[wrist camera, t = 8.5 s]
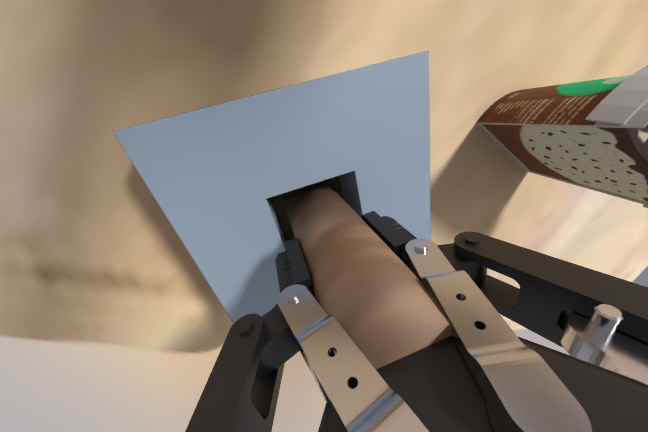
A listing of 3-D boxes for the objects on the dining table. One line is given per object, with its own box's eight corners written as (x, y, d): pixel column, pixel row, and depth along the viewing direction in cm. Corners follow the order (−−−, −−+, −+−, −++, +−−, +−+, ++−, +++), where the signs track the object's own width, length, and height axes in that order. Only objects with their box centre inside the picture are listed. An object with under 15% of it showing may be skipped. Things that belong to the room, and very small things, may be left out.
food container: (578, 122, 23) (774, 135, 15) (533, 177, 25) (687, 218, 16) (518, 36, 18) (770, -26, 9) (466, 113, 19) (640, 121, 11)
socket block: (390, 61, 16) (428, 50, 13) (404, 246, 24) (431, 271, 20) (146, 124, 14) (112, 131, 11) (248, 306, 22) (247, 345, 18)
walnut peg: (335, 176, 17) (479, 302, 6) (345, 224, 18) (468, 382, 8) (280, 193, 16) (335, 365, 6) (296, 241, 18) (360, 435, 8)
